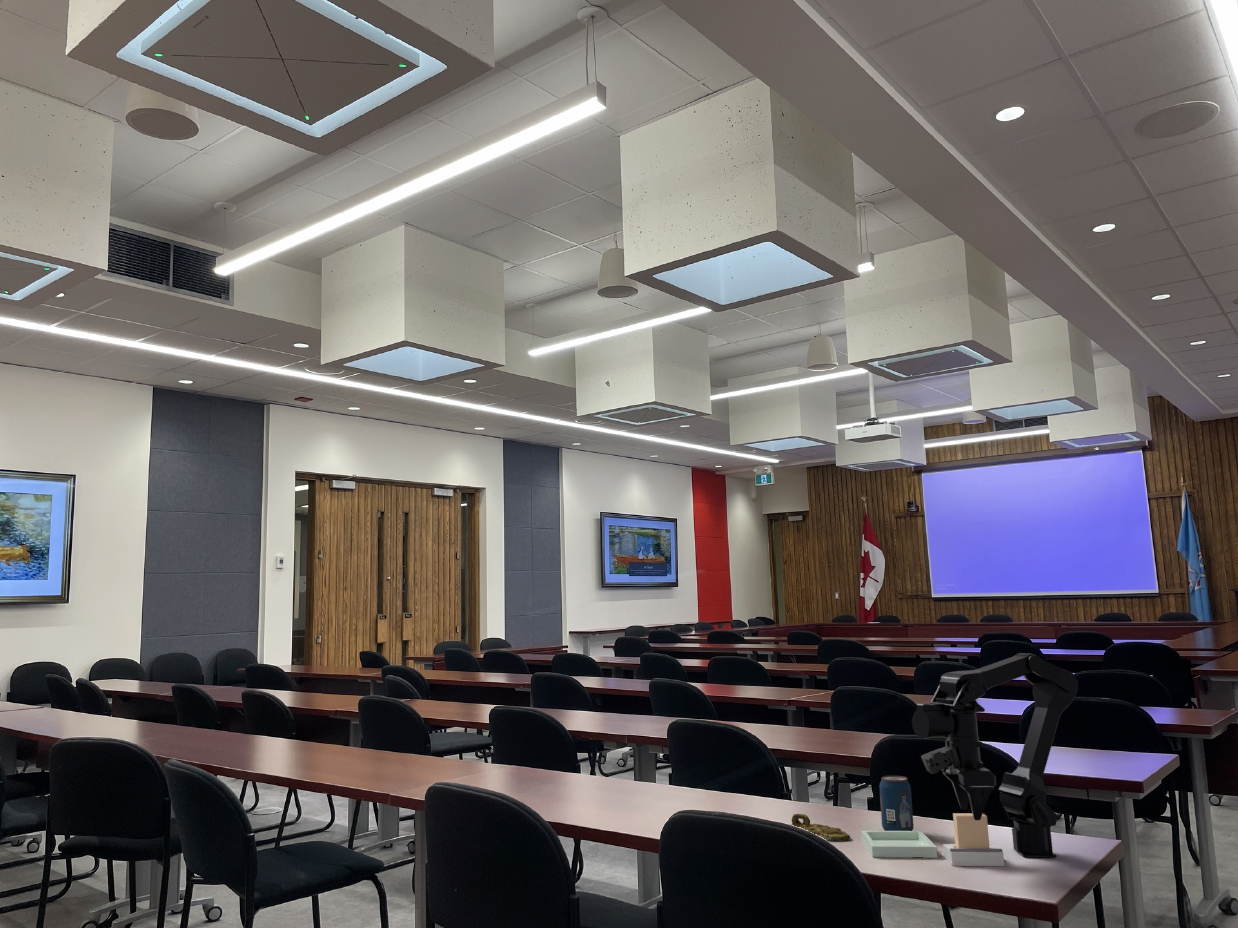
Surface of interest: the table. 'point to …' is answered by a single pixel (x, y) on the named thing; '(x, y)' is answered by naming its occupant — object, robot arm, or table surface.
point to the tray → (898, 844)
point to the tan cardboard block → (970, 831)
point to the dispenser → (973, 856)
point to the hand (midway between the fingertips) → (970, 814)
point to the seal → (820, 829)
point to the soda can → (896, 804)
